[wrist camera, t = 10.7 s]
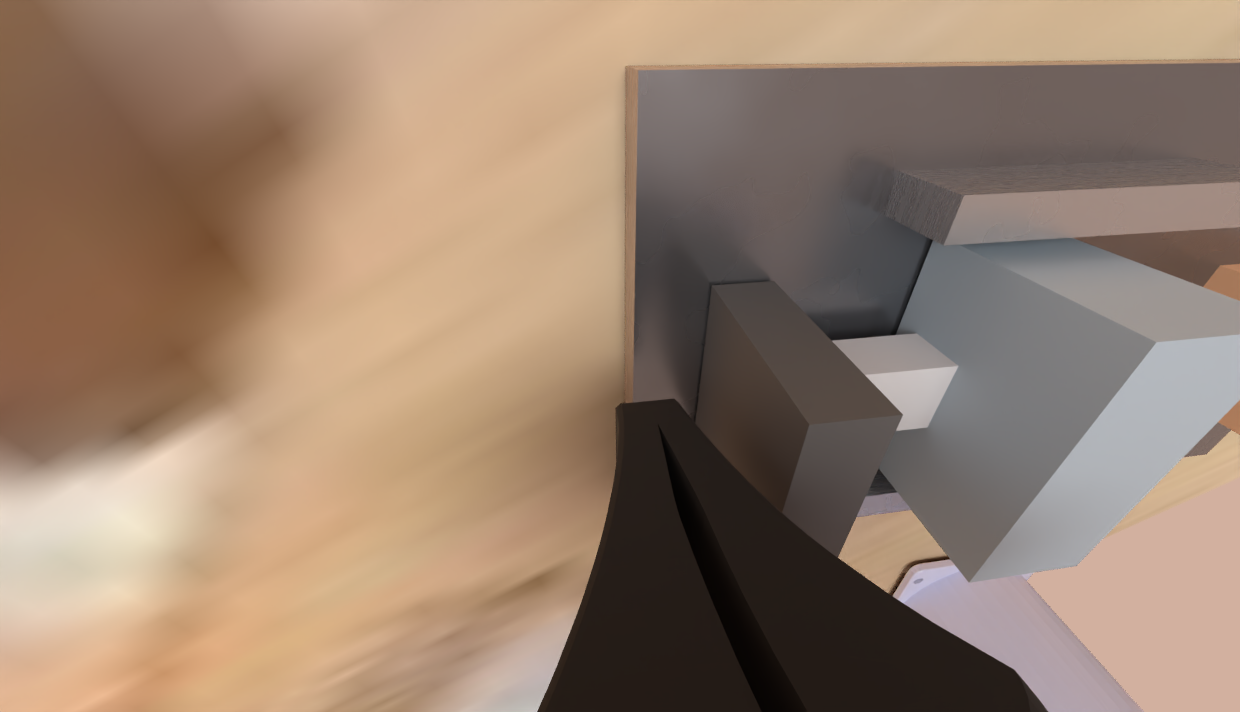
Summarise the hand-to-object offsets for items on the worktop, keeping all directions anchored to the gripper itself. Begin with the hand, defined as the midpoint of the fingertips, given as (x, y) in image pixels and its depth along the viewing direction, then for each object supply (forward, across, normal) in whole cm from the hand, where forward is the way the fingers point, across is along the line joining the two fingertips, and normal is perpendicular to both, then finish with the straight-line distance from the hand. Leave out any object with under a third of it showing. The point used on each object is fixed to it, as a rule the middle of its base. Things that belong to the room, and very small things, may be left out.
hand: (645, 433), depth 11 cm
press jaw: (+2, -6, 0) cm, 7 cm away
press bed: (+4, -12, 0) cm, 13 cm away
